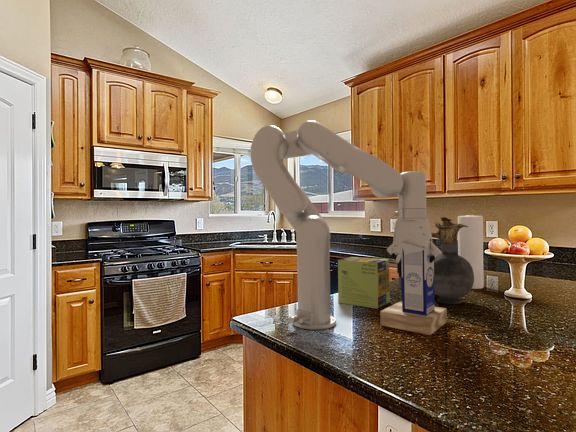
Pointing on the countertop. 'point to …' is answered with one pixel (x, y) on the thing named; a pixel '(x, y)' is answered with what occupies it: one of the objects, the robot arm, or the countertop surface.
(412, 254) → the milk carton
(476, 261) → the cylinder container
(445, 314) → the oak block
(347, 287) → the protein box
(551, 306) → the countertop surface
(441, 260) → the pitcher
